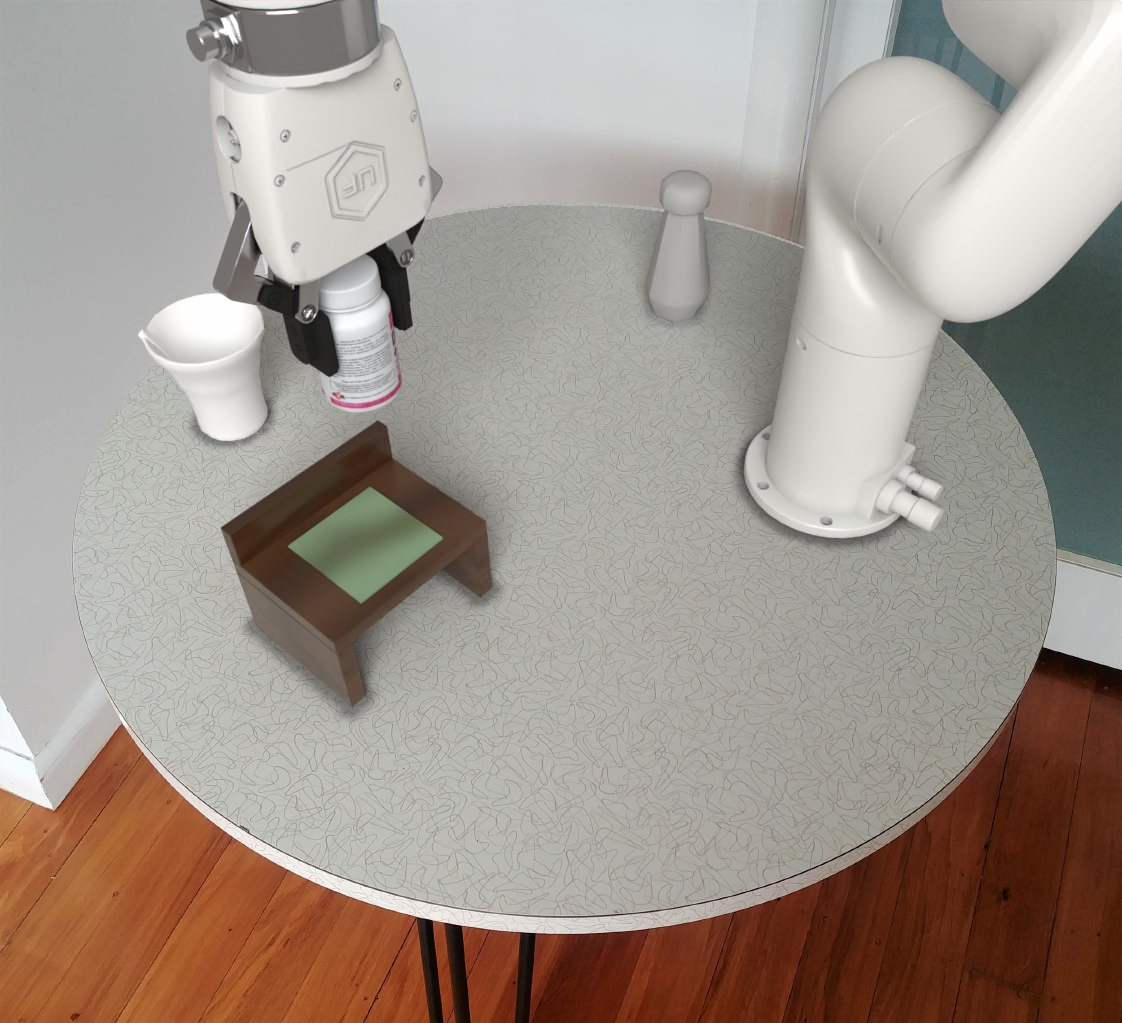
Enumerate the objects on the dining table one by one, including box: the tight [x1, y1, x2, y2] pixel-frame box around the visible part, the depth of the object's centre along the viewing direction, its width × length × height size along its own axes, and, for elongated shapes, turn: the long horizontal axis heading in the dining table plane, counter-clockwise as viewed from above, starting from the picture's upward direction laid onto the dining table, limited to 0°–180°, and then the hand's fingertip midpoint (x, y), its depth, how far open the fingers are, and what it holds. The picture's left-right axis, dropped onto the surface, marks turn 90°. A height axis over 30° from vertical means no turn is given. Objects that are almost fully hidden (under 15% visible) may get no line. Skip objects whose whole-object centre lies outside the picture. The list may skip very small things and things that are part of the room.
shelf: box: [220, 420, 493, 707], centre depth 70 cm, size 10×13×10 cm
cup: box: [137, 292, 269, 442], centre depth 83 cm, size 9×9×10 cm
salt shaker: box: [644, 169, 713, 323], centre depth 92 cm, size 6×6×13 cm
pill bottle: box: [317, 254, 403, 414], centre depth 61 cm, size 5×5×8 cm
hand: (355, 339), depth 61 cm, fingers closed on pill bottle, 4 cm apart
